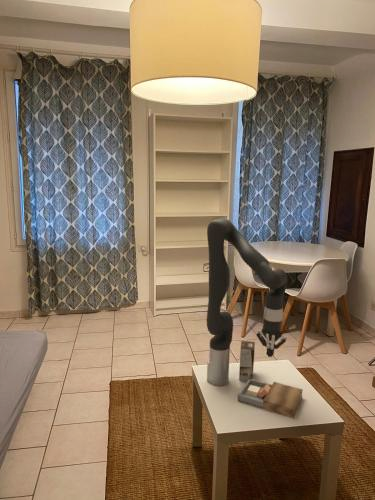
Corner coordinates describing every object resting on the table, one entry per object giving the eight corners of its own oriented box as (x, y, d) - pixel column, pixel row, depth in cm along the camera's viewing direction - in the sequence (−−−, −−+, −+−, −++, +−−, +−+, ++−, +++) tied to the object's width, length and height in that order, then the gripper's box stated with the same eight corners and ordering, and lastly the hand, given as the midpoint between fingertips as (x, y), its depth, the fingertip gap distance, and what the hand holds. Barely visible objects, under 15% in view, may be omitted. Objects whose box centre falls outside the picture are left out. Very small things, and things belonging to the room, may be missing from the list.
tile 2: (261, 398, 164) (257, 394, 165) (263, 393, 168) (260, 389, 169) (267, 392, 162) (264, 389, 163) (270, 387, 166) (267, 384, 167)
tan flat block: (262, 408, 158) (263, 400, 158) (273, 389, 172) (273, 381, 171) (293, 418, 153) (294, 409, 152) (301, 397, 167) (302, 389, 166)
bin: (237, 401, 163) (237, 394, 163) (249, 384, 176) (249, 378, 176) (262, 408, 158) (263, 402, 158) (272, 391, 171) (273, 384, 171)
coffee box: (252, 382, 178) (254, 350, 175) (238, 380, 179) (240, 348, 176) (253, 372, 187) (255, 341, 184) (239, 370, 188) (241, 340, 185)
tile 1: (257, 392, 165) (257, 396, 165) (260, 387, 169) (260, 391, 169) (247, 389, 167) (247, 394, 167) (250, 384, 171) (250, 389, 171)
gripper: (254, 317, 158) (252, 356, 161) (286, 323, 152) (283, 364, 155) (260, 311, 164) (257, 348, 168) (291, 317, 158) (287, 356, 162)
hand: (270, 356), depth 162 cm, fingers closed
